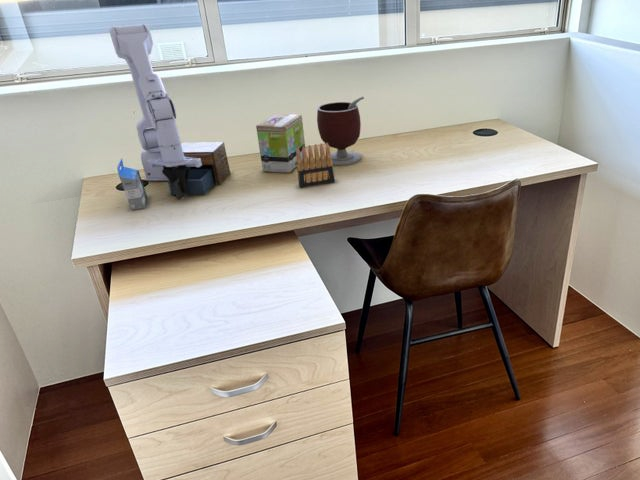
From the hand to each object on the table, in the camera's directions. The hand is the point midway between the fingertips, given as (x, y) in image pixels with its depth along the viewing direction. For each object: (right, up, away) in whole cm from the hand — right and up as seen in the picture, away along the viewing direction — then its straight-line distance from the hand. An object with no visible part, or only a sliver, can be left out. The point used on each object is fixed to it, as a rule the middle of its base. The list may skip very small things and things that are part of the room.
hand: (182, 191), depth 160 cm
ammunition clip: (+38, +3, +8) cm, 39 cm away
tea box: (+25, +13, +24) cm, 37 cm away
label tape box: (-12, -4, 0) cm, 13 cm away
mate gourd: (+44, +16, +27) cm, 54 cm away
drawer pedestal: (+1, +6, +15) cm, 16 cm away
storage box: (0, +1, +6) cm, 6 cm away
